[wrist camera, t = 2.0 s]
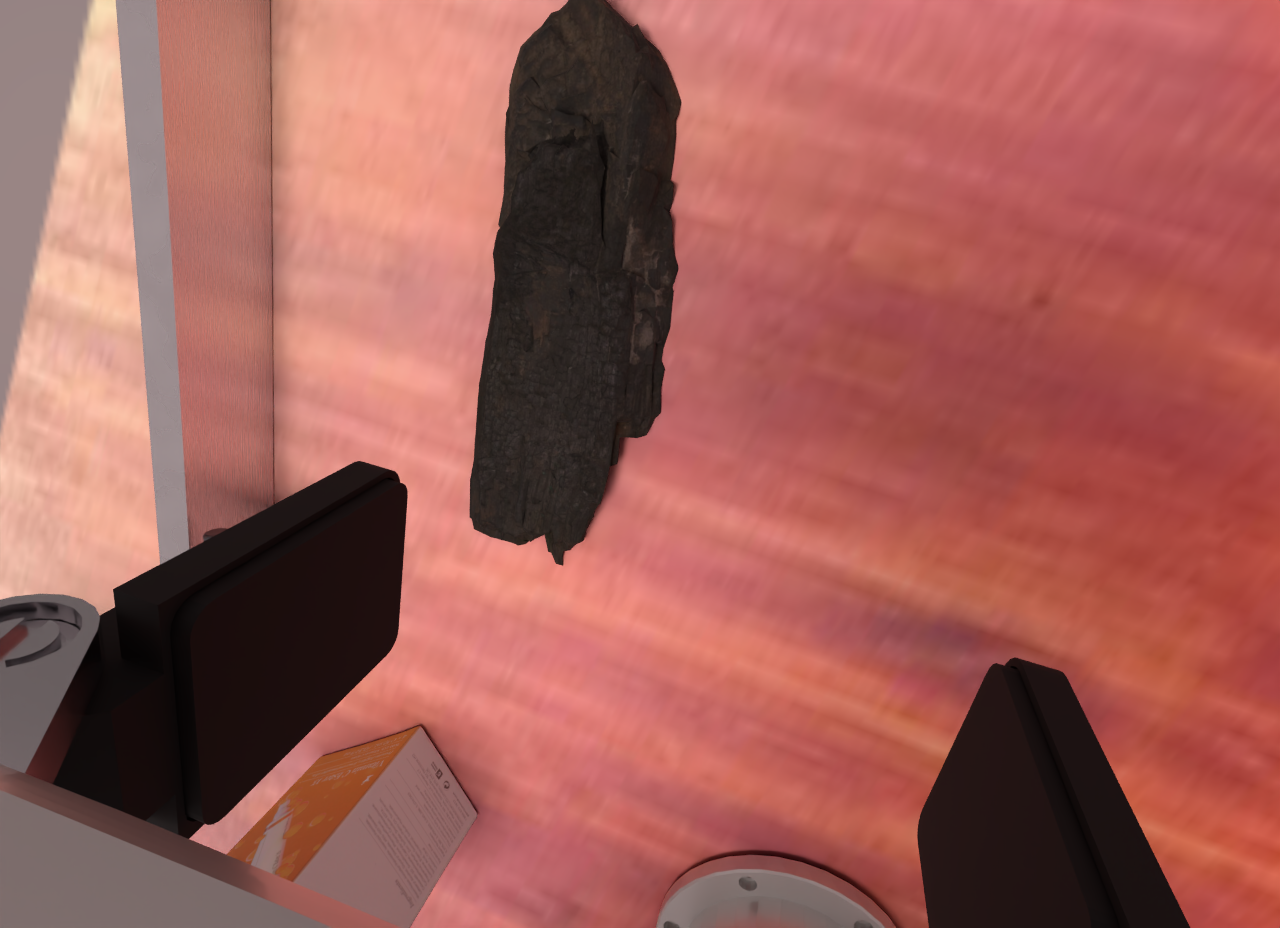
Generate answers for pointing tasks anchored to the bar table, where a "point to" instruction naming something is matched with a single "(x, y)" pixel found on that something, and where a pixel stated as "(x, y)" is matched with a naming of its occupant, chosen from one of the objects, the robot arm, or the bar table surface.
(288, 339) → the bar table surface
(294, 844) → the small box
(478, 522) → the wood
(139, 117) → the rack
